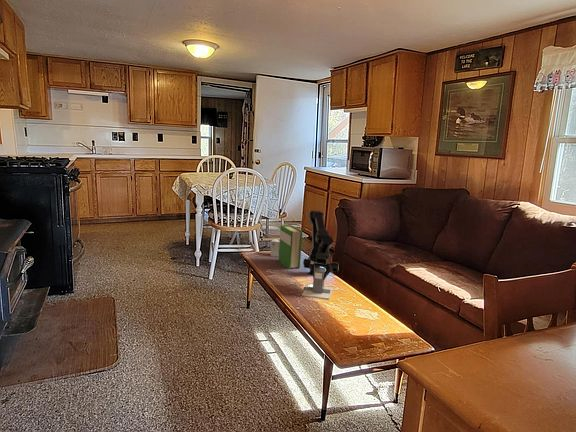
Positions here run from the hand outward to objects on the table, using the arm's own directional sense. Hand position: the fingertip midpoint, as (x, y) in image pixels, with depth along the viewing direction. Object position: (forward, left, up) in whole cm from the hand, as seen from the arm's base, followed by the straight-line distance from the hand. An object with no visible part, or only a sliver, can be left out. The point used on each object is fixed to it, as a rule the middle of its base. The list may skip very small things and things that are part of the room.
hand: (318, 279), depth 204 cm
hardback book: (-32, -37, -8) cm, 49 cm away
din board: (-1, 0, -8) cm, 8 cm away
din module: (-1, -1, -7) cm, 7 cm away
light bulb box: (-45, -53, -8) cm, 70 cm away
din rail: (-1, 0, -8) cm, 8 cm away
